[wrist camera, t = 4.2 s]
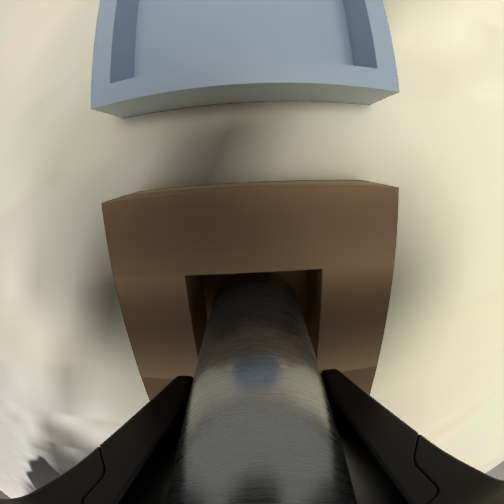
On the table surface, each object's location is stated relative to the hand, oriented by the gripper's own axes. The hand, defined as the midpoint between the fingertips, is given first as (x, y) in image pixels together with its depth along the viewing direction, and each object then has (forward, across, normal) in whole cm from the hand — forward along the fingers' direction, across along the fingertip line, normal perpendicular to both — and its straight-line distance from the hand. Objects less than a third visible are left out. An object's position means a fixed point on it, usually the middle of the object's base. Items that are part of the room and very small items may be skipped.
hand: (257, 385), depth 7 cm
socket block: (+6, 0, 0) cm, 6 cm away
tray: (+6, 0, -15) cm, 16 cm away
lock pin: (+4, 0, 0) cm, 4 cm away
